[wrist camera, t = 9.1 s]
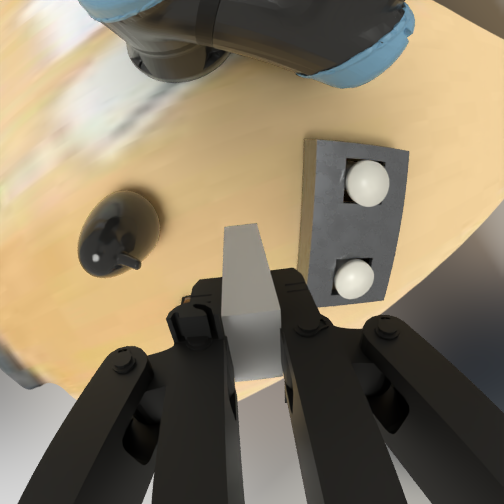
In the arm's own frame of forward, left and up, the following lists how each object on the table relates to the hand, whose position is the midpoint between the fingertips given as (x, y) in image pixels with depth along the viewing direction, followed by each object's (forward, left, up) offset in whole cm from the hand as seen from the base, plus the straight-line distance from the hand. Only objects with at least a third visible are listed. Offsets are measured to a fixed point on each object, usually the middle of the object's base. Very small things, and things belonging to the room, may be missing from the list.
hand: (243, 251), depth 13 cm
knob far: (+14, +17, -26) cm, 34 cm away
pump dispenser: (+6, -15, -27) cm, 31 cm away
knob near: (0, +17, -26) cm, 31 cm away
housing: (+7, +17, -26) cm, 32 cm away
